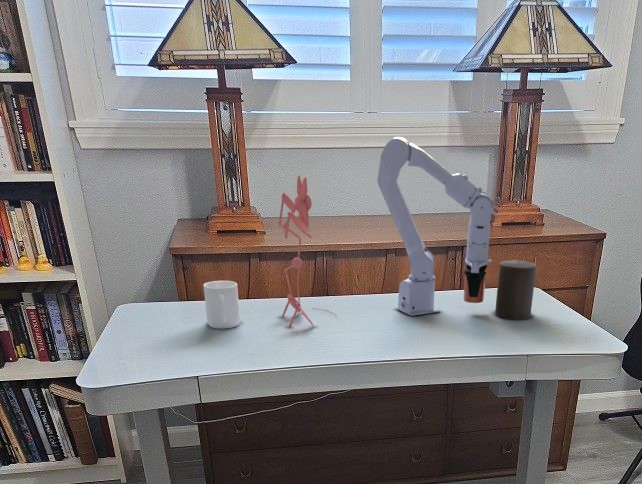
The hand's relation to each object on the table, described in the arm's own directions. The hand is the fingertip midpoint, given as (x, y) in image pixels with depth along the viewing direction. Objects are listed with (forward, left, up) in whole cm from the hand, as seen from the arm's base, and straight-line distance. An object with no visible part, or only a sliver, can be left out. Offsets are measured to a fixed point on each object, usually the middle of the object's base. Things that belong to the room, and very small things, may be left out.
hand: (473, 294), depth 191 cm
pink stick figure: (-43, +13, -5) cm, 45 cm away
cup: (-65, +18, -5) cm, 68 cm away
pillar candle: (+9, -7, -5) cm, 12 cm away
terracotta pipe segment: (0, 0, -2) cm, 2 cm away
